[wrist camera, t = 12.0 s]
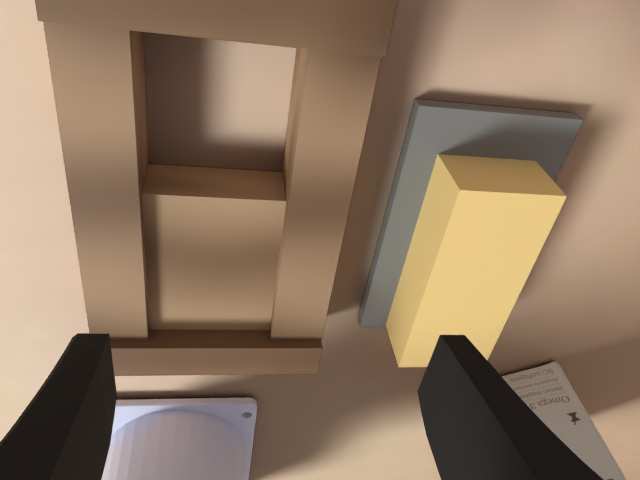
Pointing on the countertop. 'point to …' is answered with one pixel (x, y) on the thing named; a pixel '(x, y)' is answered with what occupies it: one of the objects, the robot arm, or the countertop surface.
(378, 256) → the mat
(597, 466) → the supplement box
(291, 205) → the pocket board
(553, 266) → the countertop surface
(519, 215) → the bar
